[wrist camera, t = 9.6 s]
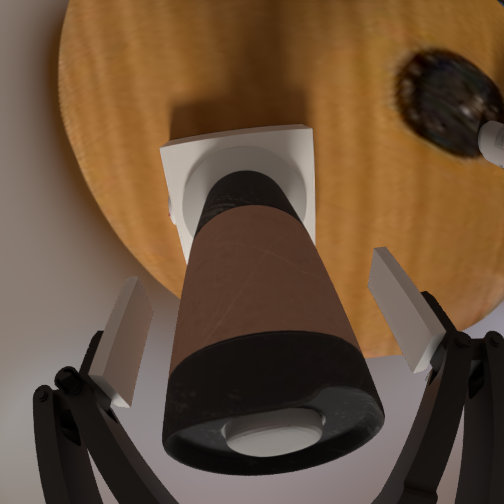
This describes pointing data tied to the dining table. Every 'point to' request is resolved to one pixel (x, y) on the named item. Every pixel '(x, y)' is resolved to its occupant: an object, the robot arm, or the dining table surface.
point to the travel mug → (262, 344)
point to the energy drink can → (492, 142)
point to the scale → (237, 159)
